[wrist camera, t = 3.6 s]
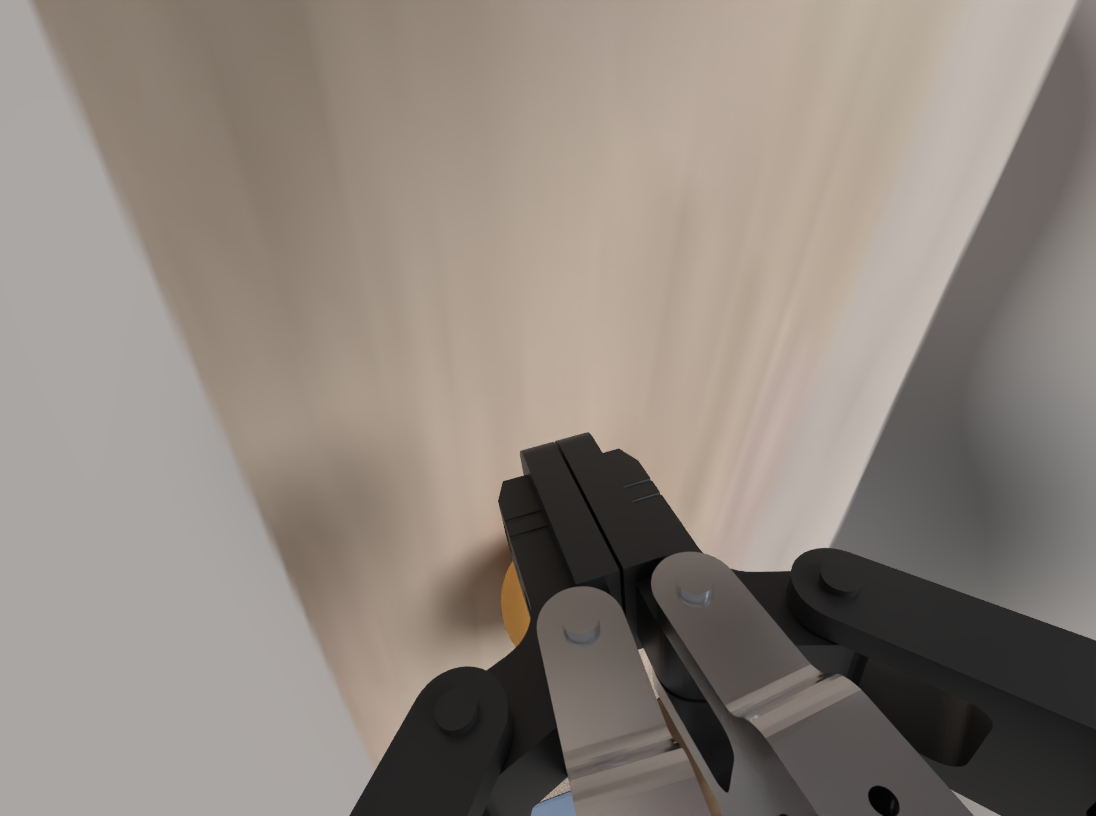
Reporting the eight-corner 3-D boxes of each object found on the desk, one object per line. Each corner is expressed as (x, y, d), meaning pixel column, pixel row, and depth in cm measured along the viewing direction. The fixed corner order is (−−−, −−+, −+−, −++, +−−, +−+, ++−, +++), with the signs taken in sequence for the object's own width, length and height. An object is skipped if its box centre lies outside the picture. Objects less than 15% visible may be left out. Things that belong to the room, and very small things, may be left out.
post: (653, 697, 31) (740, 896, 24) (691, 683, 31) (789, 875, 24) (653, 717, 32) (736, 911, 25) (690, 704, 33) (782, 891, 25)
